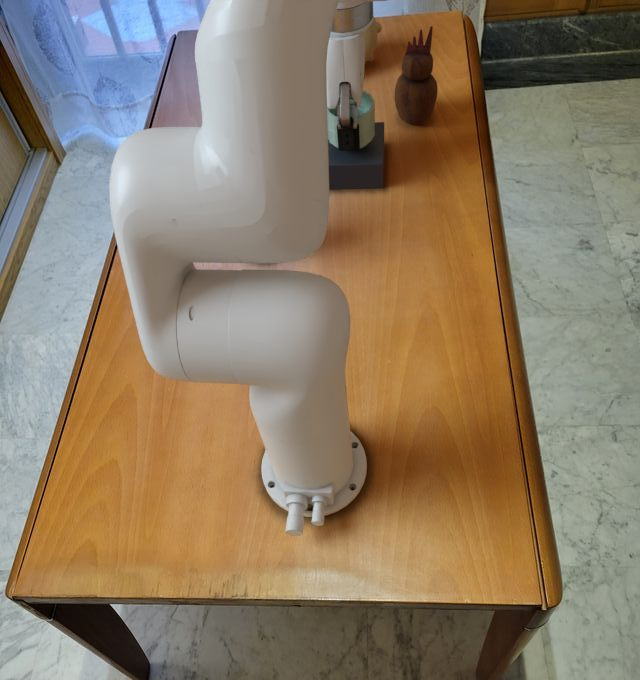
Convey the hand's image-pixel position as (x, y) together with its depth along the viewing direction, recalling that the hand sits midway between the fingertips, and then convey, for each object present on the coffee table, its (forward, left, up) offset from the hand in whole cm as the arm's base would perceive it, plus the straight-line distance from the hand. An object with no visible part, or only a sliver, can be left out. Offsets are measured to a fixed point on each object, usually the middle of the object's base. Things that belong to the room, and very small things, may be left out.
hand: (350, 131), depth 97 cm
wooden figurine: (+12, -10, -7) cm, 17 cm away
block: (0, 0, -7) cm, 7 cm away
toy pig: (+28, +2, -7) cm, 29 cm away
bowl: (0, 0, -1) cm, 1 cm away
